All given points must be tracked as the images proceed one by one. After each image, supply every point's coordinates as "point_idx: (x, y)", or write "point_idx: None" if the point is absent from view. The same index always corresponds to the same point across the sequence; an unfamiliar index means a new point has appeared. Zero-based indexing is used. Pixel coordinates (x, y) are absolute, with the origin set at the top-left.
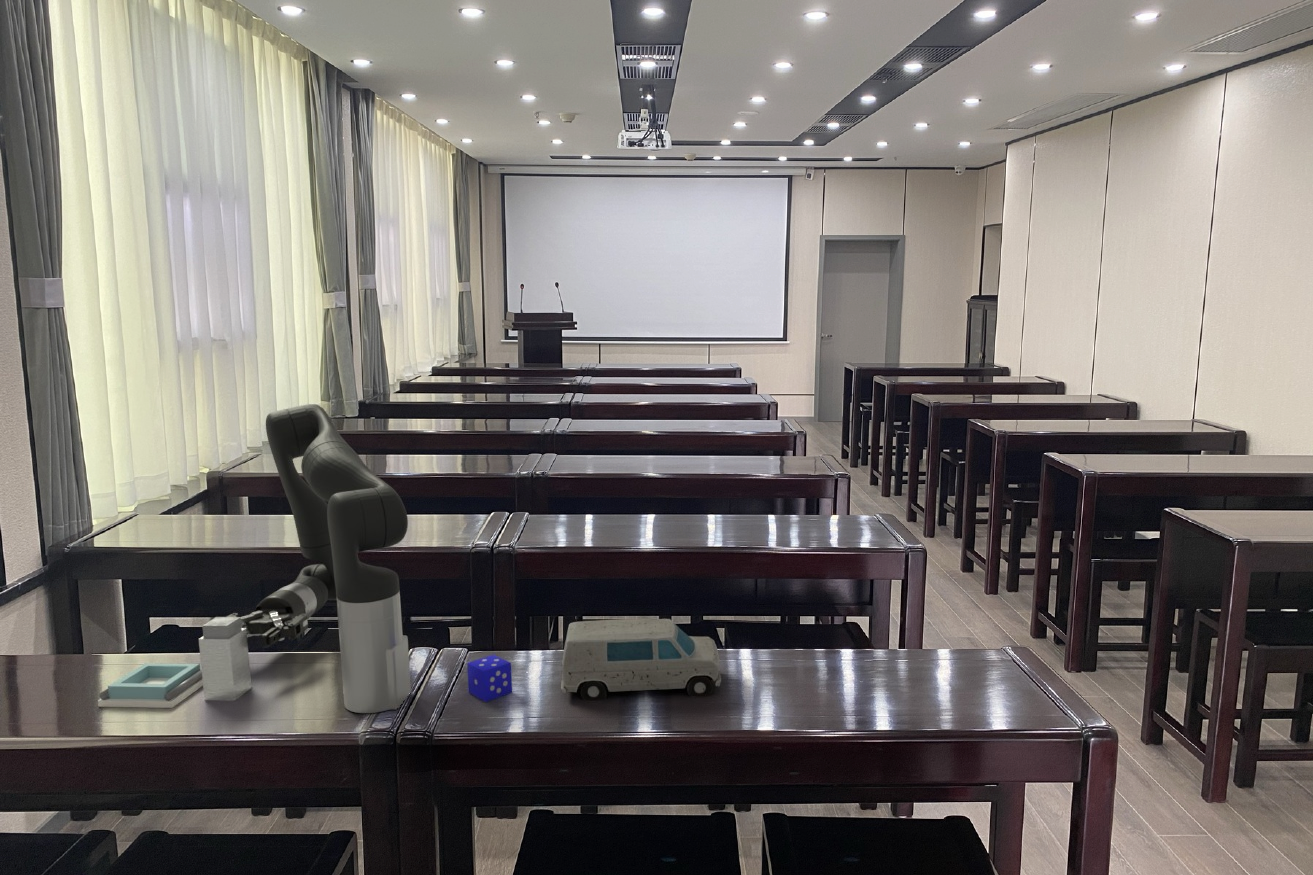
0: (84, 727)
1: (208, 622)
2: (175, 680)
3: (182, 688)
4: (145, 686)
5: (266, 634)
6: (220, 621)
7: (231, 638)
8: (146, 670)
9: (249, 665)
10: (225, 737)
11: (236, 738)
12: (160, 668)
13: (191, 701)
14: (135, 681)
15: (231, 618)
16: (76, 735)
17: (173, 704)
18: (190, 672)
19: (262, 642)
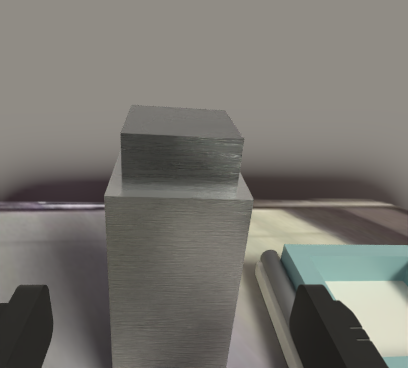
0: (333, 222)
1: (225, 118)
2: (298, 273)
3: (273, 286)
4: (333, 246)
5: (18, 288)
6: (185, 120)
7: (120, 151)
8: None
9: (111, 334)
10: (78, 205)
11: (57, 203)
12: None
13: (237, 300)
14: None
15: (157, 129)
16: (316, 208)
17: (257, 273)
18: None
19: (48, 308)
